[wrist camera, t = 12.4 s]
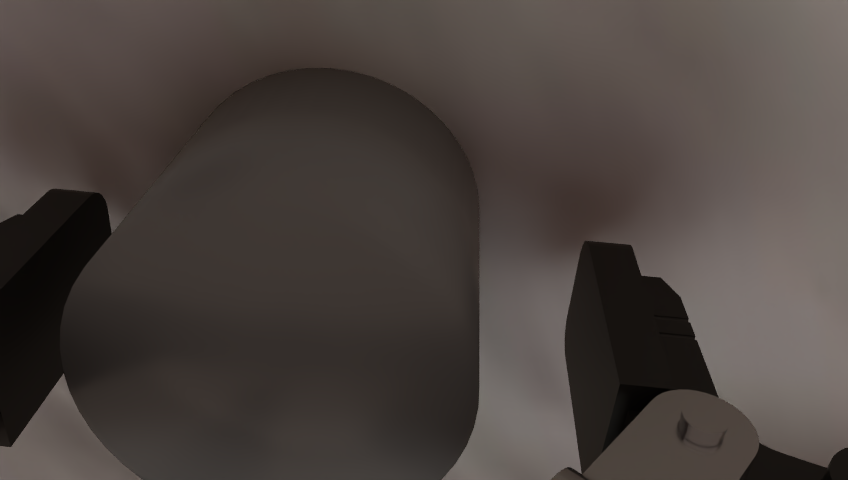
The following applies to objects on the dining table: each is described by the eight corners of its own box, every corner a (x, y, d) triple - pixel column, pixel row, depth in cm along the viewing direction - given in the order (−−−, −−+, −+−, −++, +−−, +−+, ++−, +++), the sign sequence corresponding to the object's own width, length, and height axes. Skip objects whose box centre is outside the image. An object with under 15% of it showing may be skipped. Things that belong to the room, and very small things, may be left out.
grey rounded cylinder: (198, 317, 16) (95, 511, 12) (169, 55, 13) (18, 183, 9) (465, 341, 16) (461, 545, 12) (494, 80, 13) (501, 222, 9)
